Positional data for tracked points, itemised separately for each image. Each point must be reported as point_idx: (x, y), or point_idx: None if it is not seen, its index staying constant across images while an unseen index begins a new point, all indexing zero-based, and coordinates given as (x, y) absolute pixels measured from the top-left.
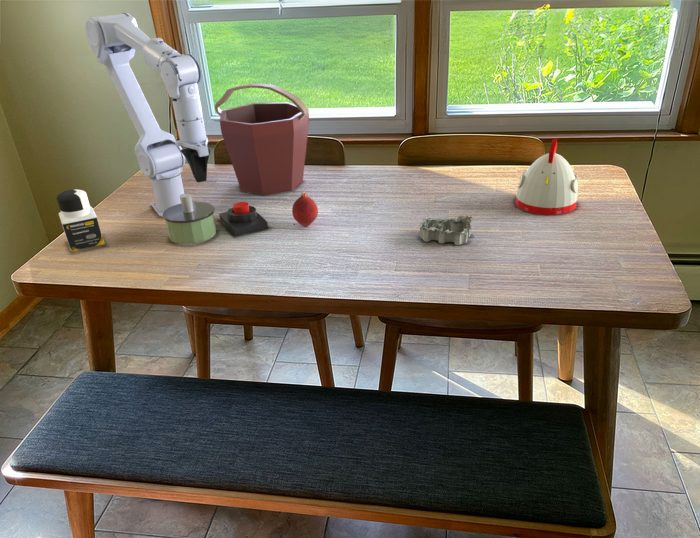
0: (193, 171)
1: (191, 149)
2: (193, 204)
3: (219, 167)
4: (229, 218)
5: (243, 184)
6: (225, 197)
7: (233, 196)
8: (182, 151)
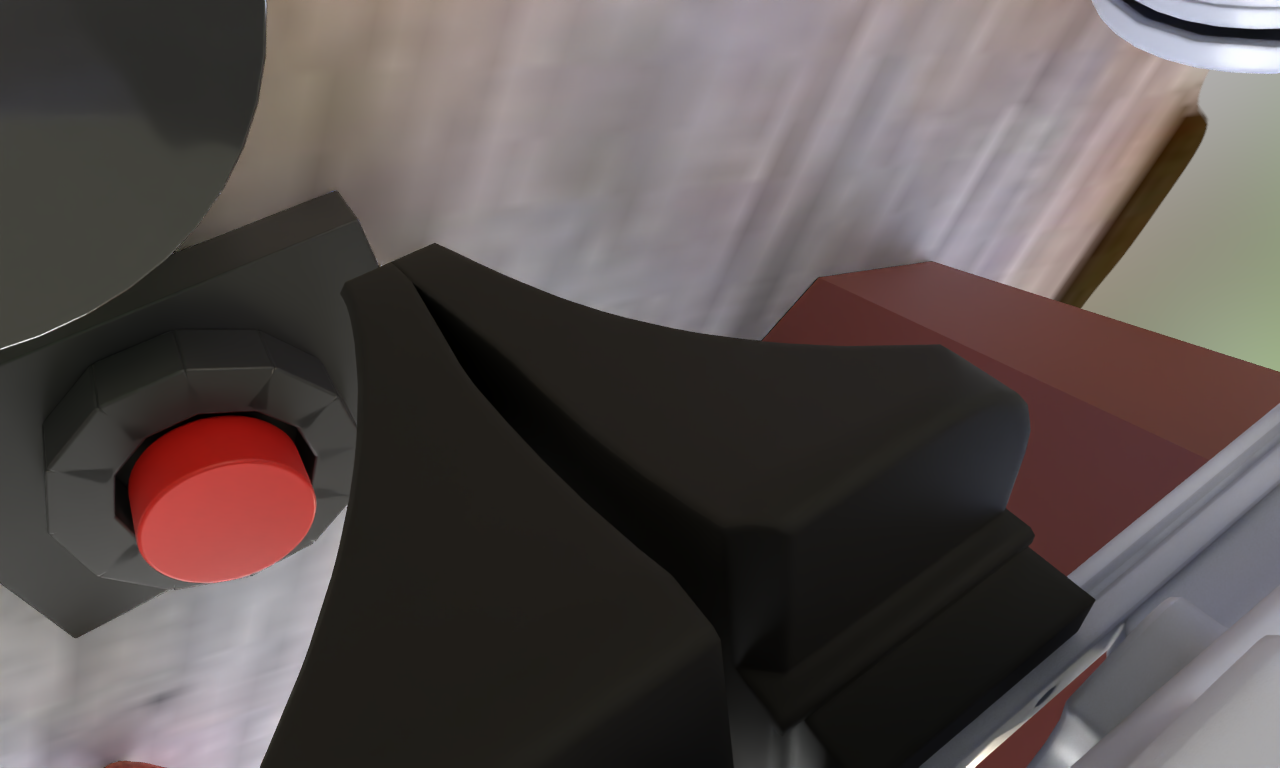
0: (362, 391)
1: (795, 727)
2: (126, 39)
3: (1158, 113)
4: (106, 373)
5: (829, 324)
6: (783, 186)
7: (773, 238)
8: (845, 505)
